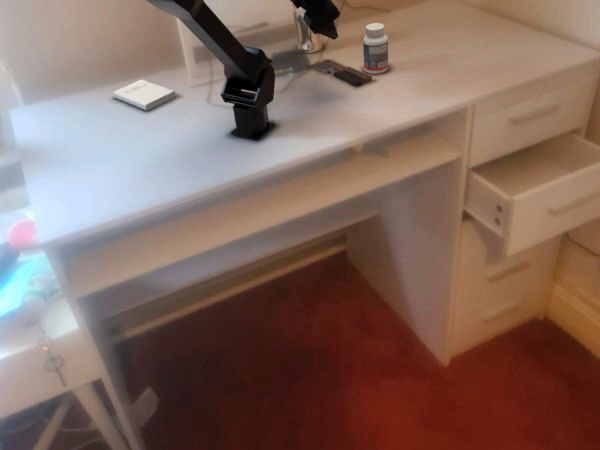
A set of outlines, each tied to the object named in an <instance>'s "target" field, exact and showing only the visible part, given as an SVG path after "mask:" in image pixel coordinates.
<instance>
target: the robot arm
mask: <svg viewBox="0 0 600 450" xmlns="http://www.w3.org/2000/svg"><path fill="white" fill-rule="evenodd" d="M145 1H147V3H149V4H150V5H152V6H154V8H157V9H158V10H161V11H163V12H164V13H168V14H169V15H171V16H173V17H175V18H177V19H178V20H180V22H181V23H182V24H183V25H184V26H185V27H186V28H187V29H188V30H189V31H190V32H191V33H192V34H193V35H194V37H196V38H197V39H198V40H199V41H200V42H201V43H202V44H203V46H205V47H206V48H207V50H209V51H210V52H211V54H212V55H213V56H214V57H215V58H217V60H218V61H219V62H220V63H221V64H222V65H223V75H224V77H225V81H224V83H223V86H222V88H221V91H220V97H221V99H222V101H223V103H225V104H227V103H228V104H232V112H233V117H234V122H235V128H233V129H232V130H231V131H230V135H232V136H235V137H239V138H240V137H241V138H244V139H249V140H254V141H259V140H261V139H262V138H263V137H264V136H265V135H267V133H269V132H270V131H271V130H272V129H274V128H275V126H276V123H275V122H273V121H269V112H268V105H270V103H272V102H273V101H274V98H275V87H276V71H275V67H274V66H273V64H272V63H273V60H272V59H270V58H269V57H268V56H267V54H266V53H265V51H264V50H263V49H261V48H258V47H253V46H245V45H243V44H242V43H241V42H240V41H239V40H238V38H237V37H236V36H235V35H234V34H233V33H232V31H231V30H230V29H229V28H228V27H227V26H226V25H225V24H224V22H223V21H222V20H221V18H219V17H218V16H217V15H216V13H215V12H214V11H213V10H212V9H211V7H210V6H209V5H208V4H207V3H206V1H204V0H145ZM289 1H290V2H291V1H292V2H293V4H294V5H295V6H296V8H297V9H298V8H300V7H301V8H303V9H304V10H306V12H305V13H304V17H303V20H304V21H305V22H306V24H307V25H308V26H309V28H310V29H311V31H312V32H313V33H314V34H320V36H321V35H322V36H324V37H326V38H329V39H331V40H334V41H335V40H336V39H338V38H339V34H338V31H337V27H336V24H335V23H336V22H335V21H336V20H337V19H338V18H339V17H340V15H341V12H340V10H339V8H338V7H337V6H336V4H335V2H333V0H289Z"/></svg>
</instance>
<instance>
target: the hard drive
mask: <svg viewBox="0 0 600 450" xmlns="http://www.w3.org/2000/svg"><path fill="white" fill-rule="evenodd" d="M112 94H113V98H115V99H118V100H120V101H122V102H124V103H127V104H129V105H132V106H134V107H137V108H139V109H141V110H144V111H146V112H147V111H151V110H153V109H155V108H157V107H159V106H161V105H163V104H166V103H168V102H169V101H171V100H174V99H175V98H177V93H176V90H173V89H170V88H167V87H164V86H162V85H158V84H156V83H153V82H150V81H148V80H145V79H139V80H136V81H135V82H132V83H130V84H128V85H126V86H123V87H121V88H119V89H117V90H116V89H115V90H114V91H113V92H112Z"/></svg>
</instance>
